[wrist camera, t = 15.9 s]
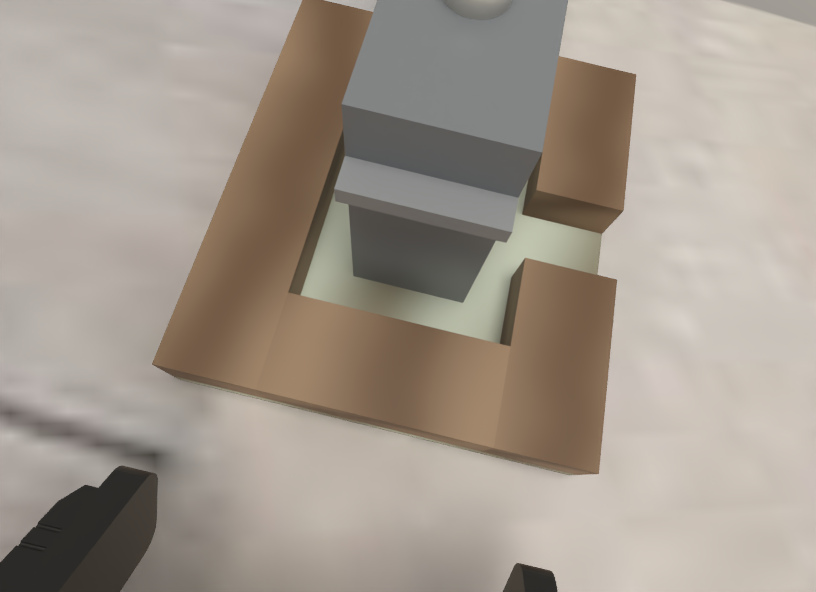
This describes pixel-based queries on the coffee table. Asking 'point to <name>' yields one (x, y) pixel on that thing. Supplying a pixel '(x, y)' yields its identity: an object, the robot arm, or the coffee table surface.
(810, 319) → the coffee table surface
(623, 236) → the coffee table surface
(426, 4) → the block
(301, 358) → the walnut plate
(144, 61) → the coffee table surface
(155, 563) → the coffee table surface
